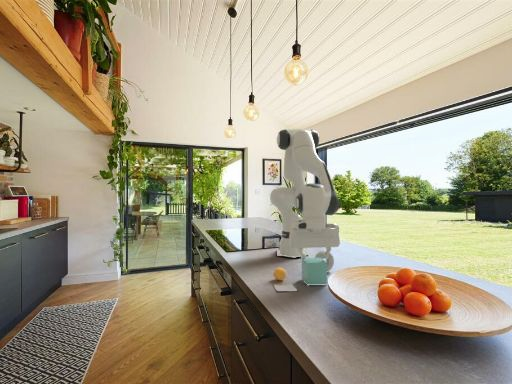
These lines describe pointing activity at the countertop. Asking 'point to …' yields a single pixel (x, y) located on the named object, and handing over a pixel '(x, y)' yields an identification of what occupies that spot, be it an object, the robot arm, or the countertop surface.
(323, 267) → the teal cube
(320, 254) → the donut
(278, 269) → the ball
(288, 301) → the countertop surface
